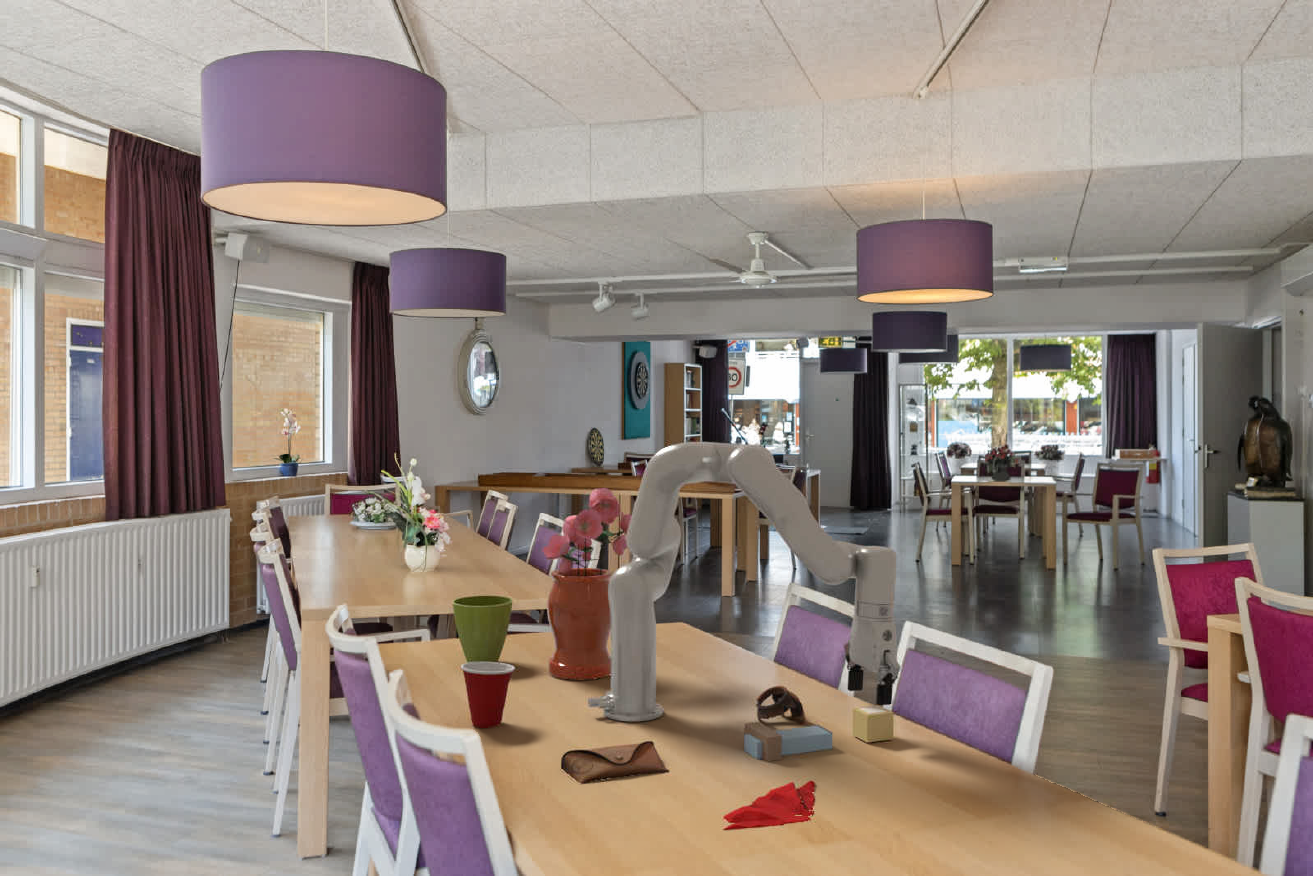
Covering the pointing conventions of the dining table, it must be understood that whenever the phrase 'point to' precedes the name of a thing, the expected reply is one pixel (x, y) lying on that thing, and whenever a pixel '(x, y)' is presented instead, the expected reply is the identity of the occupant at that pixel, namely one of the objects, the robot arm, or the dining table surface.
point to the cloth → (775, 808)
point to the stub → (873, 723)
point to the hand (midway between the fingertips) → (869, 697)
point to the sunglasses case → (612, 762)
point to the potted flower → (583, 591)
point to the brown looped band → (779, 704)
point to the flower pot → (482, 626)
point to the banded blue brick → (784, 741)
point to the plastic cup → (486, 691)
